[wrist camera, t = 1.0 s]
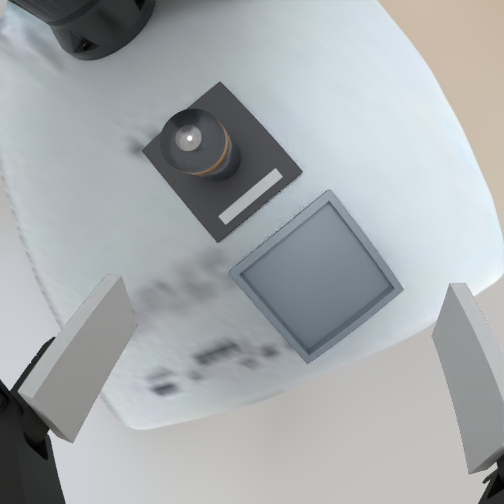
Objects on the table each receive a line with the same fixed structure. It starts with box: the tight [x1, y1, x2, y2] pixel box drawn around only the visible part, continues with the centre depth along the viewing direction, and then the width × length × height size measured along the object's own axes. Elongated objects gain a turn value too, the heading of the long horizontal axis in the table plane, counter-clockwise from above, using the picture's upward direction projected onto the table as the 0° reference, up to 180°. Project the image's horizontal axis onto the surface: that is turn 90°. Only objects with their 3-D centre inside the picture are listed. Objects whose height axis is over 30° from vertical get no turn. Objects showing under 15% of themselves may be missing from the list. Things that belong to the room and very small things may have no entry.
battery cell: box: [160, 109, 241, 181], centre depth 28 cm, size 5×5×12 cm
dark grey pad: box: [142, 82, 303, 243], centre depth 34 cm, size 14×12×1 cm
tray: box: [228, 190, 404, 364], centre depth 34 cm, size 14×14×2 cm
